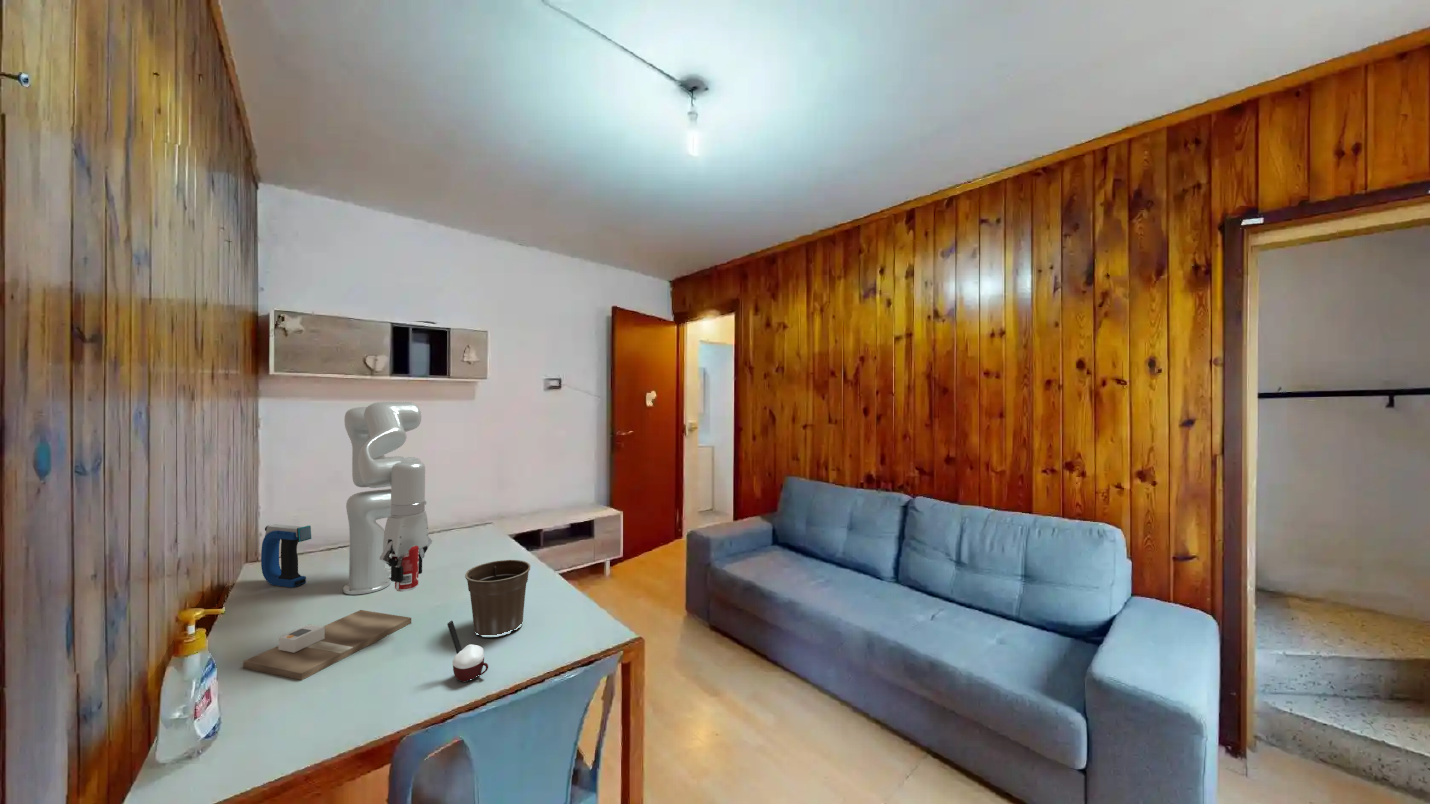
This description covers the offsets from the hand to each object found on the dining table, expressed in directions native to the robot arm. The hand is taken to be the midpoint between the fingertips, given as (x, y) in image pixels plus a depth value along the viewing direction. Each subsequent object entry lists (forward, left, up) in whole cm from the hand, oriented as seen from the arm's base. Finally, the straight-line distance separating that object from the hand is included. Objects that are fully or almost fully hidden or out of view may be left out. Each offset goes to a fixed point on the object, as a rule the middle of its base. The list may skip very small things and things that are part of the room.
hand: (406, 576), depth 126 cm
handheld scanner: (-17, -67, -16) cm, 71 cm away
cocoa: (+11, +30, -16) cm, 35 cm away
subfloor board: (+8, -13, -16) cm, 22 cm away
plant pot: (-10, +21, -16) cm, 28 cm away
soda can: (0, 0, -3) cm, 3 cm away
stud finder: (+13, -17, -14) cm, 26 cm away
